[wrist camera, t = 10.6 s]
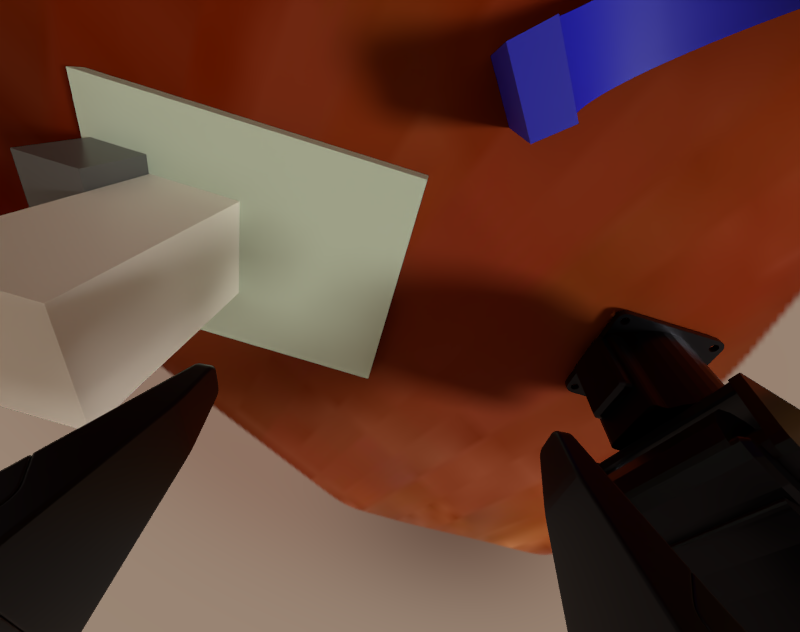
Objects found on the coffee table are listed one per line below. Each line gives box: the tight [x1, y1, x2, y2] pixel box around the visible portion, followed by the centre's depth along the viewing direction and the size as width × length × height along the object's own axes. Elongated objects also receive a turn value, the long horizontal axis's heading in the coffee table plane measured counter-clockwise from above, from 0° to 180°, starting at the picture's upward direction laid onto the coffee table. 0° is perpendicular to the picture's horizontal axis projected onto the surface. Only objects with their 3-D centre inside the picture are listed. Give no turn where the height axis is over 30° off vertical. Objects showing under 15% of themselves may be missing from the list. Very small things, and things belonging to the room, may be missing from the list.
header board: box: [10, 66, 428, 379], centre depth 20 cm, size 18×14×5 cm
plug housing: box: [0, 174, 240, 428], centre depth 16 cm, size 5×6×11 cm
